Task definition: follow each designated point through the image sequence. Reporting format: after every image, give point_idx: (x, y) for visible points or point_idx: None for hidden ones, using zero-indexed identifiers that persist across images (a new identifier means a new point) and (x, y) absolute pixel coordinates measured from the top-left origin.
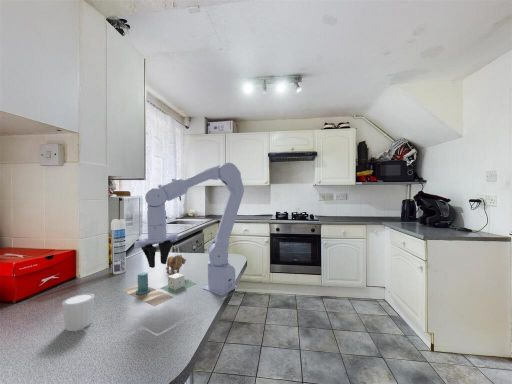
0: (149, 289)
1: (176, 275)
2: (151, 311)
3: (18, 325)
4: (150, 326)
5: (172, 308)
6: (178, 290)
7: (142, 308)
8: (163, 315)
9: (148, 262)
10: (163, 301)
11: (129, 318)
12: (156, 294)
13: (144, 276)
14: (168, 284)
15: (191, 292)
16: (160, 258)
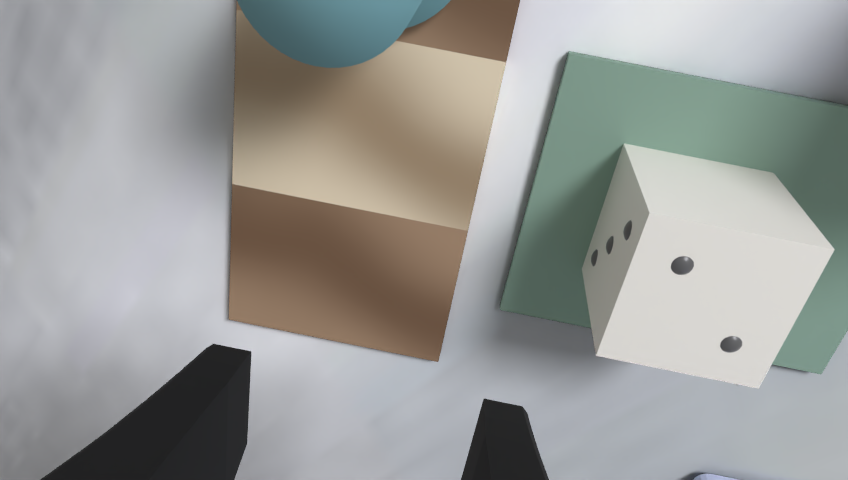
0: (432, 8)
1: (713, 307)
2: (177, 341)
3: None
4: (72, 455)
5: (296, 441)
6: (582, 308)
7: (159, 242)
8: None
9: (154, 402)
10: (326, 332)
11: (16, 273)
12: (405, 162)
13: (304, 57)
14: (625, 169)
15: (602, 417)
16: (488, 465)
